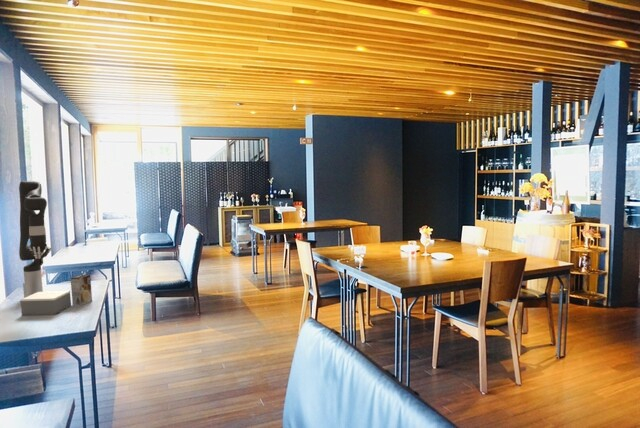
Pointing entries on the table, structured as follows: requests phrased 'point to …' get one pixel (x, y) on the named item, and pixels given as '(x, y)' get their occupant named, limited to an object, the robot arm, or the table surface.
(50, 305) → the box
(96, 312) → the table surface
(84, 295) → the coffee box
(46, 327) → the table surface
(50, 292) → the lid
